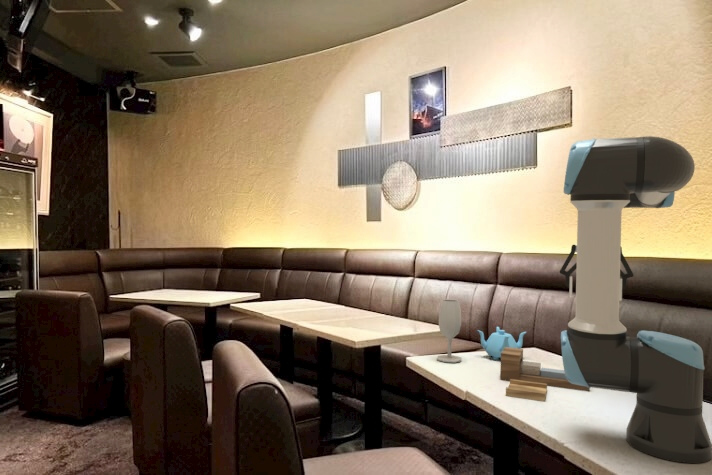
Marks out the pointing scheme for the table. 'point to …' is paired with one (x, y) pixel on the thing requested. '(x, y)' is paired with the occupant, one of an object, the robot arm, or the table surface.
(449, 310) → the wineglass
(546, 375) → the block
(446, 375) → the table surface
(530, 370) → the block
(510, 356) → the brown wooden forked piece
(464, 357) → the table surface
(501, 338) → the teapot
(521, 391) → the tan tray
